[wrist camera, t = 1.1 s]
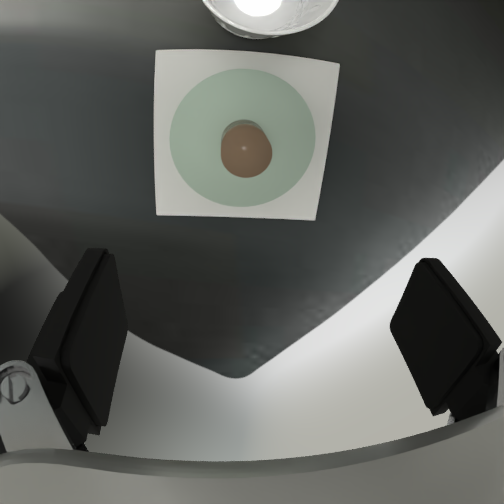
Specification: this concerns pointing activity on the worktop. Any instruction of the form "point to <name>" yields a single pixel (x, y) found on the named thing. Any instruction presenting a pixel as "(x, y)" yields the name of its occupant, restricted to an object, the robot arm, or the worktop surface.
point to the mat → (214, 61)
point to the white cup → (268, 16)
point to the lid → (242, 137)
